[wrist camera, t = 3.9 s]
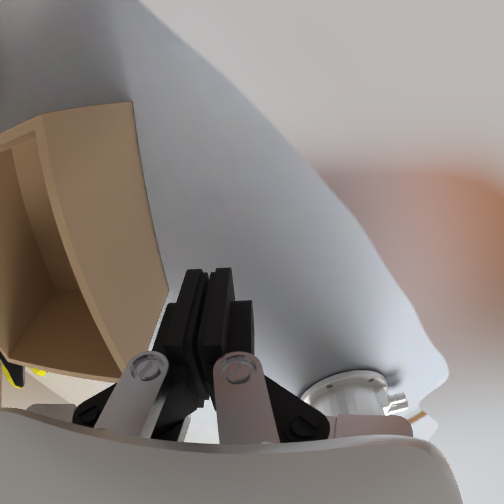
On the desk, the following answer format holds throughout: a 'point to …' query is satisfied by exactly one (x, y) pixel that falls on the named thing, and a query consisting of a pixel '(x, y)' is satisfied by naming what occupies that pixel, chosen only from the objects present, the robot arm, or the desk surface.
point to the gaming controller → (16, 372)
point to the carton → (77, 244)
